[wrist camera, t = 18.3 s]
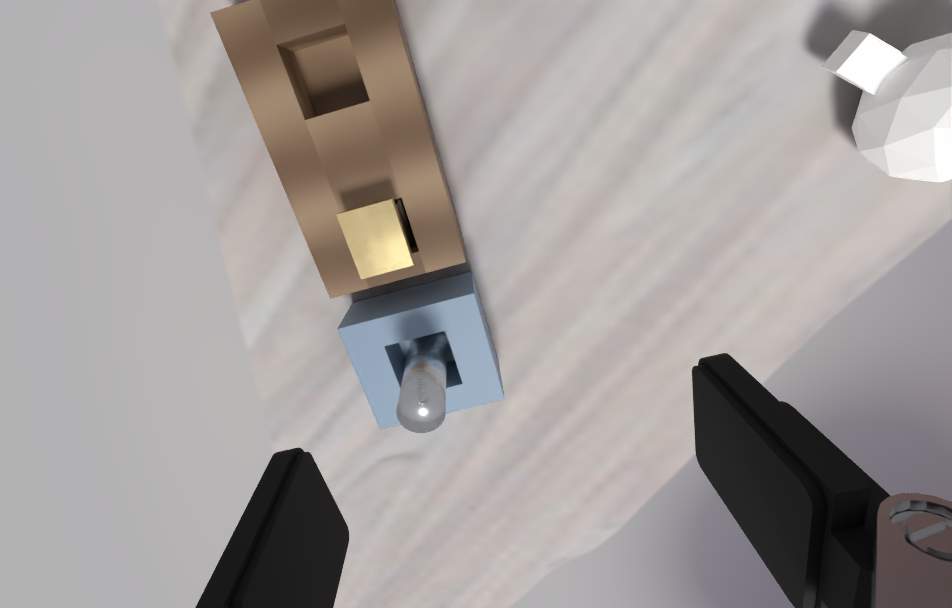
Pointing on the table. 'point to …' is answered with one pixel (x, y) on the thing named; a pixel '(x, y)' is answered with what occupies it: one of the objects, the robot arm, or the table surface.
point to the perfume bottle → (901, 103)
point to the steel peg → (424, 384)
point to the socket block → (343, 125)
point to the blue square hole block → (416, 315)
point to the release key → (377, 237)
